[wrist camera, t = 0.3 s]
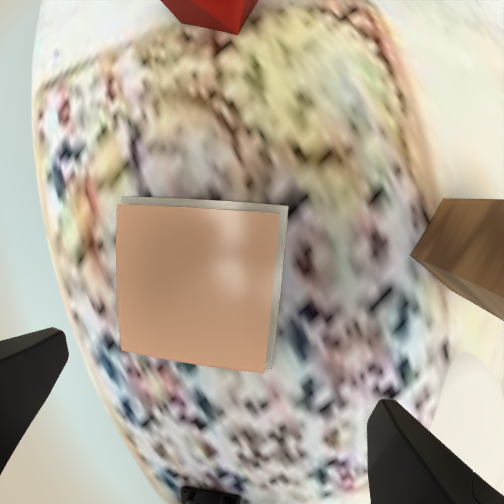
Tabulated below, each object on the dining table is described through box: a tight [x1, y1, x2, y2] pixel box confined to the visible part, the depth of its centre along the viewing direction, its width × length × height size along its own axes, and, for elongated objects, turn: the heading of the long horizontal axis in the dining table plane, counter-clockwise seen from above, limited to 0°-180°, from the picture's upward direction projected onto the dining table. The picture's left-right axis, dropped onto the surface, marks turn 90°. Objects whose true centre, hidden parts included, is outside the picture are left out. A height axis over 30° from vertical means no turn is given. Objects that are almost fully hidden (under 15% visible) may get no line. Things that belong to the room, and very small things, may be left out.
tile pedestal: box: [116, 196, 288, 373], centre depth 20 cm, size 11×11×3 cm
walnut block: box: [410, 199, 504, 321], centre depth 13 cm, size 5×5×13 cm
